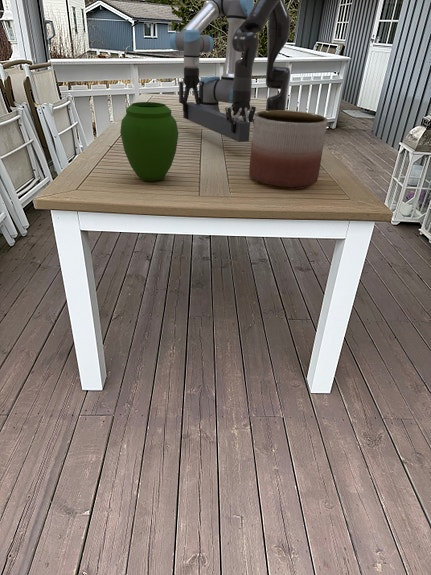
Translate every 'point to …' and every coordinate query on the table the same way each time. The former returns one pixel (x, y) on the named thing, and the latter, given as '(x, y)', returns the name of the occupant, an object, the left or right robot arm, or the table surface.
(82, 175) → the table surface
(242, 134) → the beam
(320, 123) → the planter
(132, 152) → the vase
